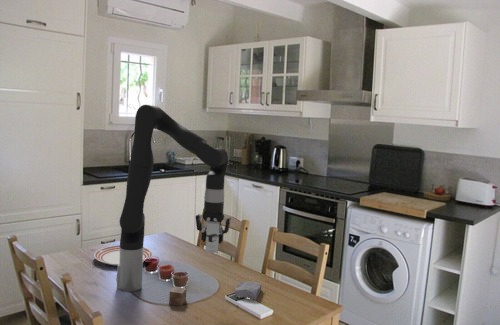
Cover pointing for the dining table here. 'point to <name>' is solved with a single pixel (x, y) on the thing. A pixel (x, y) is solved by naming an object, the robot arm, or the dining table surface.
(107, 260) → the dinner plate
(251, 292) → the stone block
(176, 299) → the walnut block
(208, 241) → the ink box
